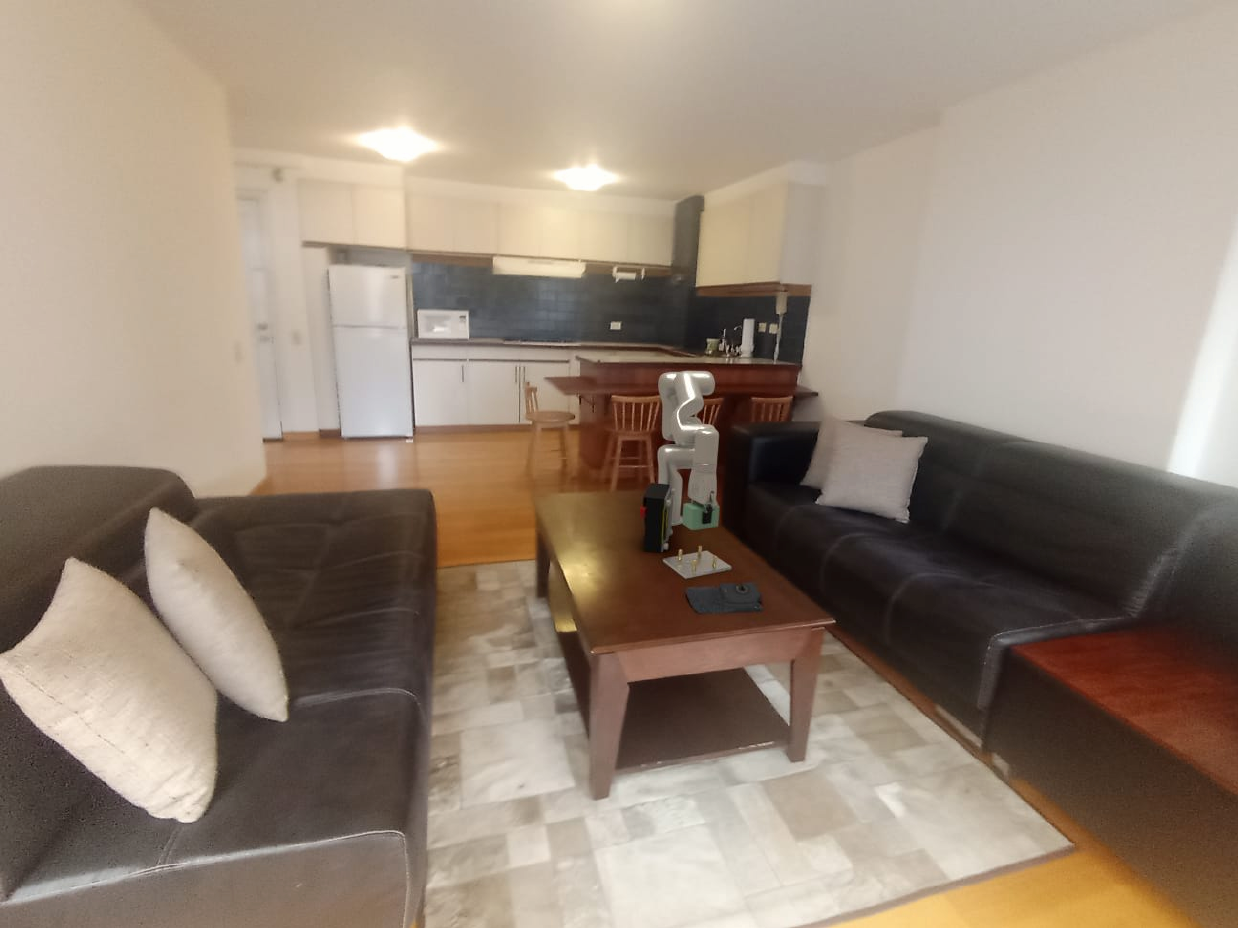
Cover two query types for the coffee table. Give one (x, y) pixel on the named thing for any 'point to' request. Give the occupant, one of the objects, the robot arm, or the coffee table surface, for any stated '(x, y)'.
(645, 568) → the coffee table surface
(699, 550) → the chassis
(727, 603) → the dark slate chunk
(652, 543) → the electrical component
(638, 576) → the coffee table surface
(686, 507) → the green block
